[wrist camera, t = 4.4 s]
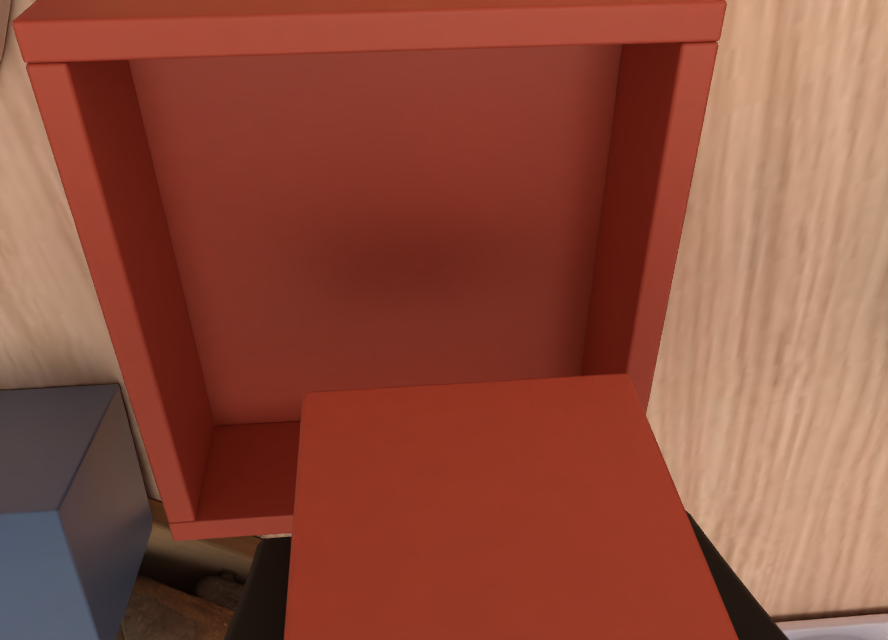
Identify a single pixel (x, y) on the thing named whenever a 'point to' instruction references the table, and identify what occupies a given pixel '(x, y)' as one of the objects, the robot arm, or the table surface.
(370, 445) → the red block
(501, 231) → the red bin
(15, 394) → the blue block
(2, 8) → the smartphone
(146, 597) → the figurine
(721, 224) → the table surface
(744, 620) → the robot arm
